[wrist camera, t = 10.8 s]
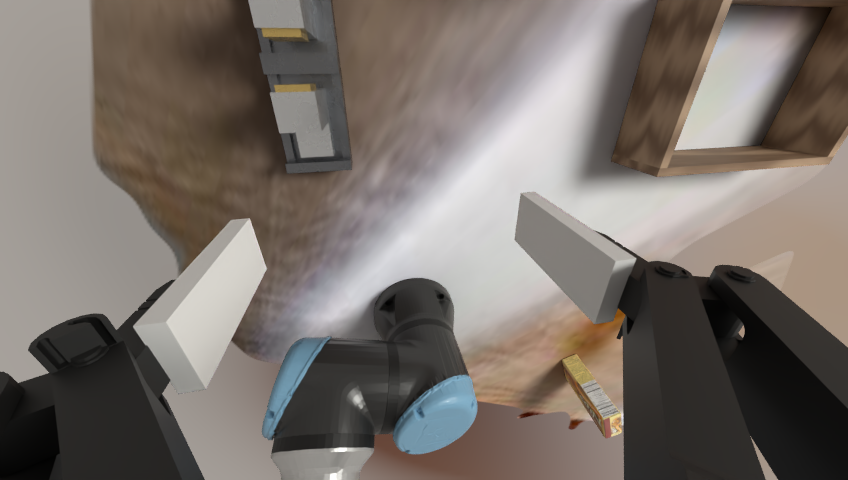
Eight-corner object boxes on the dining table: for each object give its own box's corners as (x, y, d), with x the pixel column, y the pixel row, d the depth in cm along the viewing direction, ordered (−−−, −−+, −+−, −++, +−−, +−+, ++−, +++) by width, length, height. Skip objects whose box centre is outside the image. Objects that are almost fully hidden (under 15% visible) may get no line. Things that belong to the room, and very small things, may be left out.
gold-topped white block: (335, 152, 39) (328, 170, 32) (303, 154, 39) (289, 173, 31) (324, 82, 36) (313, 84, 28) (288, 83, 35) (268, 85, 27)
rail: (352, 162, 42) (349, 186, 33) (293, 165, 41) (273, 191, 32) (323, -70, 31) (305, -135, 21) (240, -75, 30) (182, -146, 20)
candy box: (579, 372, 78) (623, 432, 65) (564, 378, 79) (605, 439, 65) (576, 352, 74) (622, 412, 61) (560, 359, 74) (603, 420, 61)
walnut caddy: (762, 151, 55) (828, 164, 47) (611, 161, 50) (656, 176, 42) (844, -3, 44) (948, -20, 36) (661, -10, 39) (734, -31, 31)
